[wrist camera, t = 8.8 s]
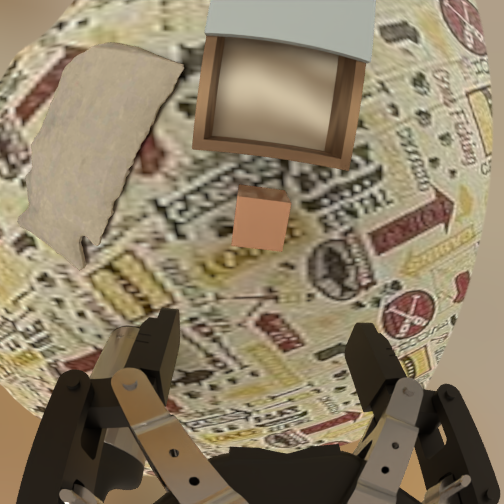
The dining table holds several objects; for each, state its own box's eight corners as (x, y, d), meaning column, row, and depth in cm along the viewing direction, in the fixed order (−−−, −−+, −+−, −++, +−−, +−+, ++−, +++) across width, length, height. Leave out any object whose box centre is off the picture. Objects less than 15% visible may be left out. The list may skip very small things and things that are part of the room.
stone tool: (96, 265, 32) (196, 71, 23) (82, 282, 29) (186, 65, 19) (25, 214, 29) (98, 27, 19) (7, 226, 26) (79, 20, 16)
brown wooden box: (328, 159, 26) (348, 170, 21) (203, 142, 26) (191, 149, 20) (348, 13, 19) (371, -6, 14) (225, -8, 19) (220, -35, 13)
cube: (277, 232, 30) (282, 251, 26) (233, 227, 30) (231, 245, 25) (284, 190, 28) (291, 203, 24) (239, 184, 28) (237, 196, 24)
